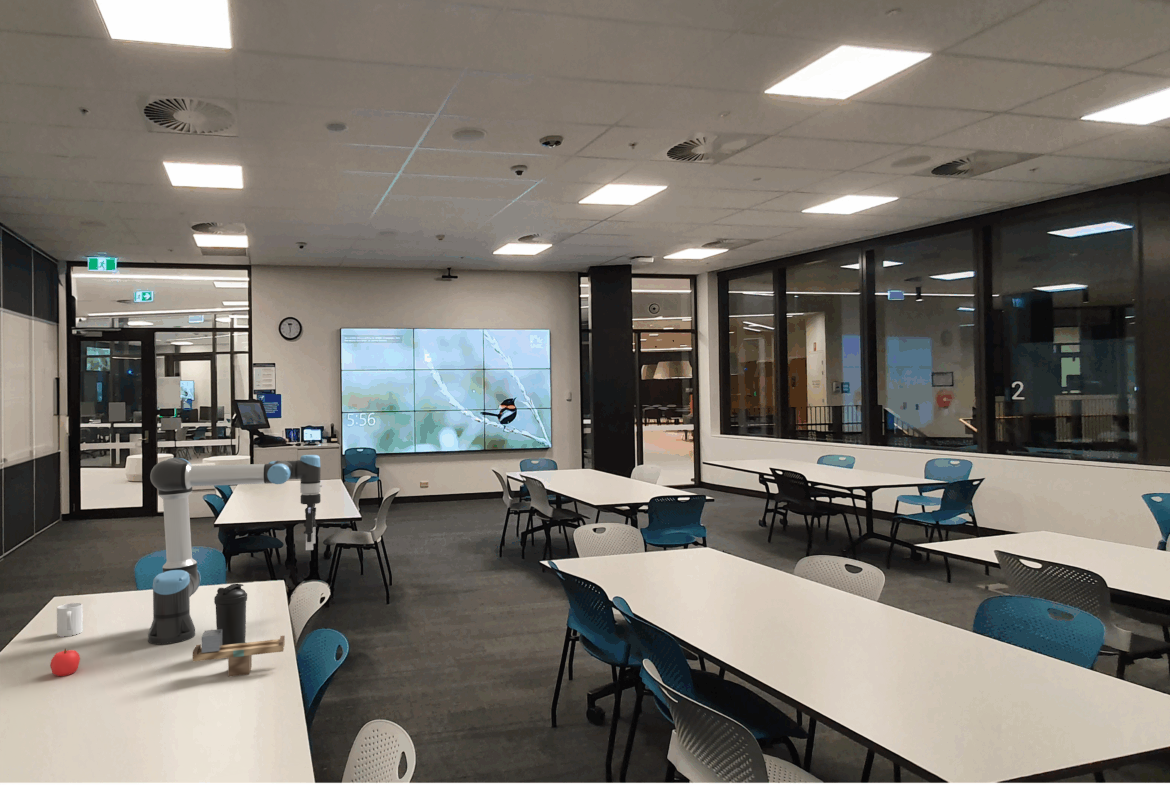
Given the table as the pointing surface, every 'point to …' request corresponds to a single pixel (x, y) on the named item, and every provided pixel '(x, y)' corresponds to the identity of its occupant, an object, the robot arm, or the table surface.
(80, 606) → the mug
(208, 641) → the block
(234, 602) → the water bottle
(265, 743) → the table surface
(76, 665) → the apple
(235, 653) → the beam
